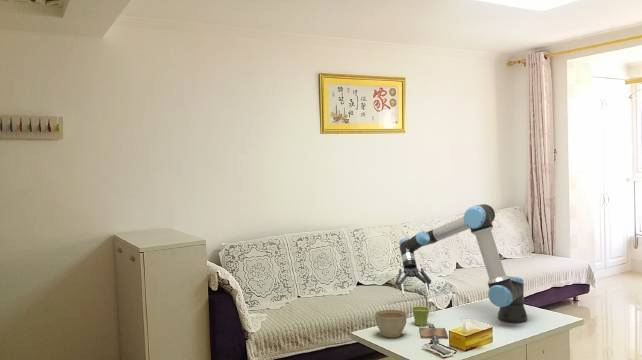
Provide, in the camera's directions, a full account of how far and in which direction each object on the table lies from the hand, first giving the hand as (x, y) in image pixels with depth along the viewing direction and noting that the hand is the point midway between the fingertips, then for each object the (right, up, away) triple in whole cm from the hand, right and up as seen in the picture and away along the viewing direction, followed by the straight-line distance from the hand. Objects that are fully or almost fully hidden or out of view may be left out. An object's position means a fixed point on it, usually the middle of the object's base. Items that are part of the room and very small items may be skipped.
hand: (415, 294), depth 296 cm
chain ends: (+4, -14, -28) cm, 31 cm away
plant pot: (+1, -14, -9) cm, 17 cm away
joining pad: (+4, -14, -26) cm, 30 cm away
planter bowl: (-17, -15, -25) cm, 34 cm away
